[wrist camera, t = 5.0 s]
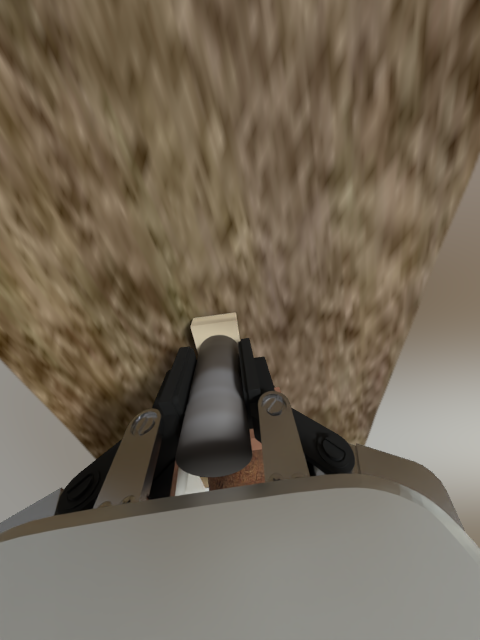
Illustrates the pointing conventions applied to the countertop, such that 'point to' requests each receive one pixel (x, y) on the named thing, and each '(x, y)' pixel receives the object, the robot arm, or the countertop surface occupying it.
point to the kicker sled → (216, 404)
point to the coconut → (241, 474)
